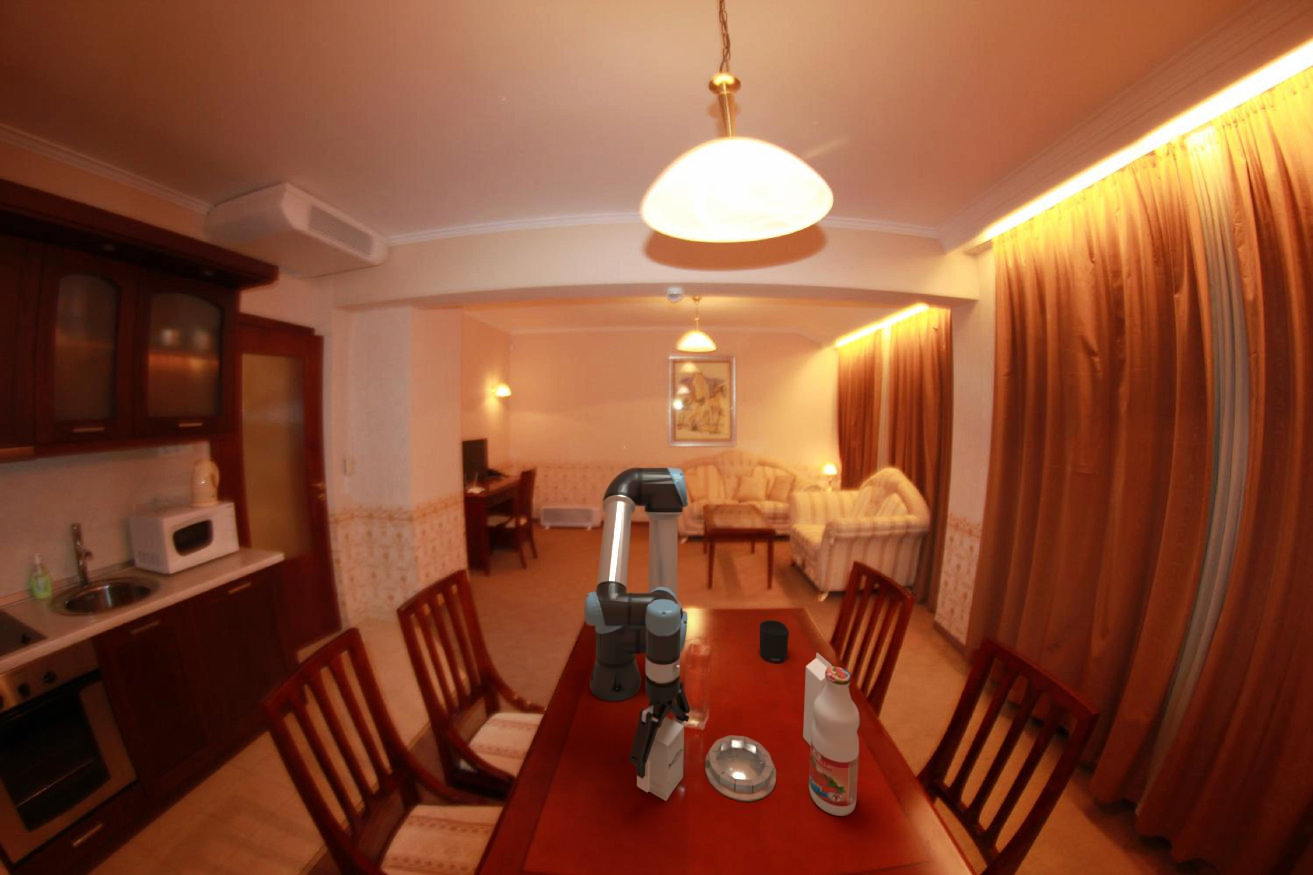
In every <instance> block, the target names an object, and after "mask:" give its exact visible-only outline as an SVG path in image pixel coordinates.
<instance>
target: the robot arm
mask: <svg viewBox="0 0 1313 875" xmlns="http://www.w3.org/2000/svg"><path fill="white" fill-rule="evenodd" d="M686 484H687V482H686V478H685V473H684V471H683V470H682V469H680V468H677V467H676V468H675V467H674V468H673V467H672V468H671V467H630V468H628V469H625V470H623V471H622V472H620V473H619V474H617V475H616V476H615V477H614V478H613V479H612V480H611V481H610V483H609V485H608V486H607V488H606V490H605V492H604V495H603V497H602V498H603V499H602V509H603V511H604V512H605V513H604V520H603V527H602V528H603V529H602V536H601V544H600V545H601V546H600V554H599V560H598V561H599V563H598V569H597V577H596V588H595V591H592V592H591V591H590V592H588V593H587V594H586V596H585V601H584V608H583V609H584V610H583V611H584V620H585V623H586V624H587V625H588V626H592V627H593V626H595V627H594V629H595V630H594V631H595V662H594V665H593V669H592V672H591V674H590V678H589V689H590V692H591V693H592V694H593V695H594V696H595V697H596V698H598V699H600V700H602V701H607V702H621V701H625V700H627V699H629V698H632V697H634V696H635V695H636V694H637V693H638V692H639V691H640V689H641V688H642V687H641V686H642V674H641V672H640V670H639V667H638V663H637V660H636V655H645V658H644V659H645V660H644V662H645V665H644V666H645V667H644V670H645V671H644V672H645V679H644V680H645V681H644V683H645V684H644V686H645V687H644V688H645V693H646V695H647V697H648V699H649V702H648V706H647V708H646V709H644V708H640V710H639V713H638V723H637V726H636V731H635V735H634V738H633V742H632V745H631V750H630V754H629V759H628V761H629V762H630V763H632V764H633V765H635V766H636V771H635V772H636V773H635V774H636V787H638V788H639V789H641V790H643V791H644V792H646V793H648V792H649V790H650V760H648V757H649V754H650V751H651V748H652V745H653V742H654V739H655V736H656V733H657V730H658V728H660V727H661V725H662V722H663V719H664V718H665V717H666V718H667V716H668V715H669V714H670V713H671V714H673V716H674V717H673V718H672V720H673V721H675V722H677V723H679V724H682V725H684V726H685V723H687V722H689V721H690V720H689V719H690V716H689V715H686V714H689V713H690V711H691V708H690V705H689V702H688V698H687V696H686V693H685V690H684V682H682V681H681V680H680V679H681V676H680V675H681V674H680V672H681V666H680V665H681V661H680V660H681V653H682V652H683V650H684V648H685V644H686V638H687V630H688V612H687V611H685V610H683V605H682V603H681V602H680V601H679V600H678V548H679V547H678V540H679V539H678V537H679V536H678V534H679V531H678V528H679V525H678V524H679V523H678V522H679V517H680V516H681V515H682V514H683V513H684V509H683V508H686V507H688V504H689V503H688V491H687V485H686ZM636 507H644V514H645V515H646V516H647V517H648V518H649V522H648V524H649V525H648V528H649V529H648V536H649V537H648V547H649V548H648V592H627V590H628V589H627V588H628V574H629V572H628V571H629V558H630V557H629V556H630V543H631V526H632V525H631V524H632V514H633V513H634V512H635V511H636ZM653 718H655V719H657V720H658V722H655V721H653Z"/></svg>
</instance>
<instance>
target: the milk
mask: <svg viewBox="0 0 1313 875" xmlns="http://www.w3.org/2000/svg"><path fill="white" fill-rule="evenodd" d="M815 654H816V655H815V658H814V659H813V660H812V661H811V662H809V663H808V664H806V666H805V682H804V683H805V684H804V686H805V687H804V703H803V704H804V707H803V708H804V710H803V732H802V737H803V739H804V740H805V742H807V744H808V745H809V746H810V747H811V731H812V725H813V723H814V721H815V718H814V714H813V704H814V701H815V699H816V697H817V696H818V695H819V694H820V693H821V692H822V690H823V688H824V686H825V683H826V679H825V671H826V669H827V668H828V667H832V666H833V665H832V664H831V663H830V662H829V661H828V660H826V659H825V658H824V657H823V656H822V655H820V654H819V652H816V653H815Z"/></svg>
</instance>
